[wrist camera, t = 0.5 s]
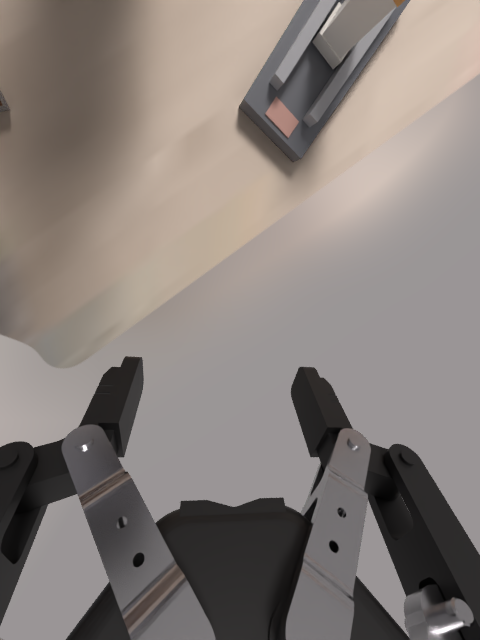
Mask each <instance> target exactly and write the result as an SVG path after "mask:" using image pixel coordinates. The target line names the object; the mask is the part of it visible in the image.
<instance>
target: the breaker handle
mask: <svg viewBox="0 0 480 640" xmlns="http://www.w3.org/2000/svg"><path fill="white" fill-rule="evenodd" d="M404 1H405V0H345V1H344V2H343V3H342V5H341V3H340V2H339V3H338V4H337V5H336V7H335V8H334V9H333V11H332V12H331V13H330V15H329V16H328V18H327V19H326V21H325V23H324V24H323V26H322V27H321V29H320V30H319V32H318V34H317V35H316V37H315V38H314V40H313V41H312V42H313V44H314V45H315V46H316V48H317V49H318V50H319V52H320V53H321V54H322V56H323V57H324V58H325V60H326V61H327V62H328V64H329V65H330V66H331V68H332V69H334V68H335V67H336V66H338V65H339V64H340V63H341V62H342V60H343V59H344V57H345V56H346V54H347V53H348V51H349V50H350V49H351V48H352V47H353V46H354V45H355V44H356V43H357V42H358V41H360V40H361V39H362V38H363V37H364V36H365V35H366V34H367V33H368V32H369V31H370V30H371V29H372V28H373V27H374V26H376V25H377V24H378V23H379V22H380V21H381V20H382V19H383V18H384V17H385V16H386V15H387V14H388V13H389V12H391V11H392V10H393V9H394V8H395V7H396V6H397V7H398V6H400V5H401V4H402V3H403V2H404Z"/></svg>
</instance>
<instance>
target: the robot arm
mask: <svg viewBox="0 0 480 640" xmlns="http://www.w3.org/2000/svg"><path fill="white" fill-rule="evenodd" d="M142 390H143V362H142V357H127V356H126V357H125V358H124V360H123V362H122V365H121V367H111V368H110V369H109V370H108V371H107V372H106V373H105V374H104V375H103V377H102V379H101V381H100V383H99V386H98V388H97V390H96V392H95V394H94V396H93V398H92V400H91V402H90V405H89V407H88V409H87V411H86V413H85V415H84V417H83V420H82V422H81V423H80V425H79V427H78V428H77V429H74V430H73V431H72V432H70V433H69V434H68V435H67V437H66V438H64V439H62V440H60V441H57V442H53V443H50V444H46V445H42V446H38V447H34V448H33V447H32V446H31V445H30V444H29V443H27V442H13V443H9V444H6V445H4V446H2V447H0V625H1V623H2V620H3V617H4V615H5V612H6V610H7V607H8V605H9V602H10V600H11V597H12V595H13V592H14V590H15V587H16V585H17V582H18V579H19V577H20V574H21V572H22V569H23V567H24V564H25V562H26V559H27V557H28V554H29V552H30V549H31V547H32V544H33V541H34V539H35V536H36V534H37V531H38V529H39V526H40V524H41V521H42V518H43V516H44V514H45V511H46V508H47V506H48V504H49V503H52V502H55V501H58V500H61V499H64V498H67V497H70V496H72V495H75V494H78V496H79V499H80V502H81V505H82V508H83V510H84V513H85V516H86V519H87V521H88V524H89V527H90V530H91V532H92V535H93V538H94V540H95V543H96V546H97V549H98V551H99V554H100V556H101V559H102V562H103V565H104V568H105V570H106V573H107V576H108V578H109V581H110V582H109V583H108V584H107V586H106V587H105V588H104V590H103V591H102V592H101V594H100V595H99V596H98V598H97V599H96V600H95V602H94V603H93V604H92V606H91V607H90V608H89V610H88V611H87V612H86V614H85V615H84V616H83V618H82V619H81V620H80V621H79V623H78V624H77V625H76V627H75V628H74V629H73V631H72V632H71V633H70V635H69V636H68V637H67V639H66V640H480V555H479V554H478V552H477V550H476V548H475V547H474V545H473V544H472V542H471V540H470V539H469V537H468V535H467V534H466V532H465V530H464V529H463V527H462V526H461V524H460V523H459V521H458V519H457V517H456V516H455V515H454V513H453V511H452V509H451V508H450V506H449V504H448V503H447V501H446V500H445V498H444V496H443V495H442V493H441V491H440V490H439V488H438V487H437V485H436V483H435V482H434V480H433V479H432V477H431V475H430V474H429V472H428V470H427V469H426V467H425V465H424V464H423V462H422V461H421V459H420V458H419V456H418V455H417V454H416V453H415V452H414V451H412V450H411V449H409V448H408V447H406V446H404V445H401V444H394V445H392V446H391V447H390V448H389V449H385V448H382V447H379V446H376V445H373V444H370V443H369V442H368V441H367V439H366V438H365V437H364V436H363V435H362V434H361V433H359V432H358V431H356V430H354V429H353V428H352V426H351V424H350V422H349V420H348V418H347V416H346V414H345V412H344V410H343V408H342V406H341V404H340V403H339V400H338V398H337V396H335V392H334V390H333V388H332V386H331V385H330V384H329V383H328V382H327V381H326V380H325V379H324V378H320V377H319V375H318V372H317V370H316V369H315V368H312V367H300V368H299V369H298V372H297V374H296V377H295V379H294V382H293V384H292V388H291V397H292V400H293V403H294V407H295V410H296V413H297V416H298V419H299V422H300V425H301V428H302V432H303V435H304V438H305V441H306V444H307V447H308V450H309V453H310V457H319V458H320V461H321V463H320V465H319V467H318V470H317V473H316V475H315V478H314V481H313V484H312V487H311V489H310V492H309V495H308V498H307V500H306V503H305V505H304V507H303V509H302V511H301V513H299V512H297V511H296V510H294V509H292V508H289V507H287V506H285V503H284V499H283V498H262V499H261V498H260V499H257V500H254V501H251V502H248V503H245V504H243V505H240V506H237V507H230V506H227V505H223V504H219V503H216V502H212V501H208V500H198V501H181V506H180V509H178V510H175V511H173V512H171V513H169V514H167V515H166V516H164V517H163V518H161V519H160V520H159V521H157V522H156V523H155V522H154V520H153V518H152V516H151V514H150V512H149V510H148V509H147V507H146V505H145V503H144V501H143V499H142V497H141V495H140V493H139V491H138V489H137V487H136V486H135V484H134V482H133V480H132V478H131V476H130V475H129V473H128V472H125V470H124V469H123V467H122V465H121V463H120V461H119V459H118V457H124V455H125V451H126V448H127V444H128V440H129V437H130V433H131V430H132V426H133V423H134V419H135V415H136V411H137V408H138V405H139V401H140V398H141V394H142ZM401 496H402V497H401ZM402 498H403V499H402ZM368 500H369V503H370V505H371V508H372V510H373V513H374V516H375V518H376V520H377V523H378V526H379V528H380V531H381V533H382V536H383V538H384V541H385V543H386V546H387V548H388V551H389V554H390V556H391V559H392V561H393V563H394V566H395V569H396V571H397V574H398V576H399V579H400V581H401V584H402V587H403V589H404V592H405V594H406V599H405V602H404V613H405V627H406V630H407V632H408V633H409V637H408V636H407V635H406V634H405V632H404V631H403V630H402V629H401V628H400V626H399V625H398V624H397V623H396V622H395V620H394V619H393V618H392V617H391V616H390V615H389V613H388V612H387V611H386V610H385V609H384V608H383V607H382V605H381V604H380V603H379V602H378V601H377V599H376V598H375V597H374V596H373V595H372V594H371V592H370V591H369V590H368V589H367V588H366V587H365V585H364V584H363V583H362V582H361V581H360V580H359V579H358V577H357V576H356V571H357V565H358V557H359V552H360V546H361V540H362V533H363V527H364V521H365V514H366V508H367V502H368ZM403 500H404V501H403ZM404 502H405V503H404ZM405 504H406V505H405ZM406 506H407V507H406ZM407 508H408V509H407ZM408 510H409V511H408ZM0 640H3V639H1V638H0Z"/></svg>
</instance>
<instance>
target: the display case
mask: <svg viewBox="0 0 480 640" xmlns="http://www.w3.org/2000/svg"><path fill="white" fill-rule="evenodd" d="M5 110H10V109H9V107H8V105H7V103H6V101H5V99H4V97H3V95H2V93H1V91H0V112H1V111H5Z"/></svg>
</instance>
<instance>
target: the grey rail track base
mask: <svg viewBox="0 0 480 640" xmlns="http://www.w3.org/2000/svg"><path fill="white" fill-rule="evenodd" d="M344 1H345V0H304V1H303V2H302V4H301V6H300V7H299V9H298V11H297V12H296V14H295V15H294V17H293V19H292V20H291V22H290V24H289V25H288V27H287V29H286V30H285V32H284V34H283V35H282V37H281V38H280V40H279V42H278V43H277V45H276V47H275V48H274V50H273V52H272V53H271V55H270V56H269V58H268V60H267V61H266V63H265V65H264V66H263V68H262V70H261V71H260V73H259V75H258V76H257V78H256V79H255V81H254V83H253V84H252V86H251V88H250V89H249V91H248V93H247V94H246V96H245V97H244V99H243V101H242V103H241V104H240V106H239V108H240V109H241V110H242V111H243V112H244V113H245V114H246V115H247V116H248V117H249V118H250V119H251V120H252V121H253V122H254V123H255V124H256V125H257V126H258V127H259V128H260V129H261V130H262V131H263V132H264V133H265V134H266V135H267V136H268V137H269V138H270V139H271V140H272V141H273V142H274V143H275V144H276V145H277V146H278V147H279V148H280V149H281V150H282V151H283V152H284V153H285V154H286V155H287V156H288V157H289V158H290V159H291V160H292V161H293V162H294V161H296V160H299V159H301V158H302V156H303V155H304V154H305V152H306V151H307V149H308V148H309V146H310V145H311V143H312V142H313V140H314V139H315V138H316V136H317V135H318V133H319V132H320V130H321V129H322V127H323V126H324V125H325V123H326V122H327V120H328V119H329V117H330V116H331V114H332V113H333V112H334V110H335V109H336V107H337V106H338V104H339V103H340V101H341V100H342V98H343V97H344V96H345V94H346V93H347V91H348V90H349V88H350V87H351V85H352V84H353V83H354V81H355V80H356V78H357V77H358V75H359V74H360V72H361V71H362V70H363V68H364V67H365V65H366V64H367V62H368V61H369V59H370V58H371V57H372V55H373V54H374V52H375V51H376V49H377V48H378V46H379V45H380V43H381V42H382V41H383V39H384V38H385V36H386V35H387V33H388V32H389V30H390V29H391V28H392V26H393V25H394V23H395V22H396V20H397V19H398V17H399V16H400V15H401V13H402V12H403V10H404V9H405V7H406V6H407V4H408V3H409V2H410V0H405V1H404V2H403V3H402V4H401V5H400V6H398V7H397V6H396V7H395V8H394V9H393V10H392V11H391V12H389V13H388V14H387V15H386V16H385V17H384V18H383V19H382V20H381V21H380V22H379V23H378V24H377V25H376V26H374V27H373V28H372V29H371V30H370V31H369V32H368V33H367V34H366V35H365V36H364V37H363V38H362V39H361V40H360V41H358V42H357V43H356V44H355V45H354V46H353V47H352V48H351V49H350V50H349V51H348V53H347V54H346V56H345V57H344V59H343V60H342V62H341V63H340V64H339V65H338V66H336V67H335V68H334V69H332V68H331V66H330V65H329V64H328V62H327V61H326V60H325V58H324V57H323V56H322V54H321V53H320V52H319V50H318V49H317V48H316V46H315V45H314V44H313V42H312V41H313V40H314V38H315V37H316V35H317V34H318V32H319V30H320V29H321V27H322V26H323V24H324V23H325V21H326V19H327V18H328V16H329V15H330V13H331V12H332V11H333V9H334V8H335V7H336V5H337V4H338V3H339V2H340V3H341V5H342V3H343V2H344Z"/></svg>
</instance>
